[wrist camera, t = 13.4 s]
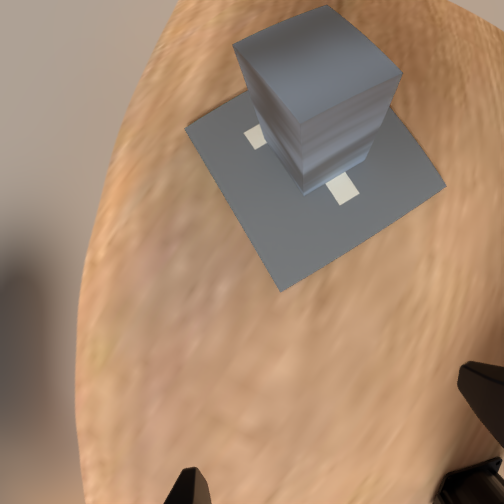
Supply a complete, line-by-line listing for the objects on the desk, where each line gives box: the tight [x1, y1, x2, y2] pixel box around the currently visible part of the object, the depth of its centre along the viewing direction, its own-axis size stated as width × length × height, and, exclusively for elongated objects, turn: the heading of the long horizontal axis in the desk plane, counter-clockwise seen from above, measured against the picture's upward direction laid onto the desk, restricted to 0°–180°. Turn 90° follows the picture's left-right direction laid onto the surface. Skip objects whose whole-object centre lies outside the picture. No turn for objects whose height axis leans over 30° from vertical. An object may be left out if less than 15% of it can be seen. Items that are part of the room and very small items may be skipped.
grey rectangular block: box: [233, 5, 403, 196], centre depth 15 cm, size 5×5×10 cm
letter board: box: [184, 91, 446, 292], centre depth 20 cm, size 14×14×1 cm
